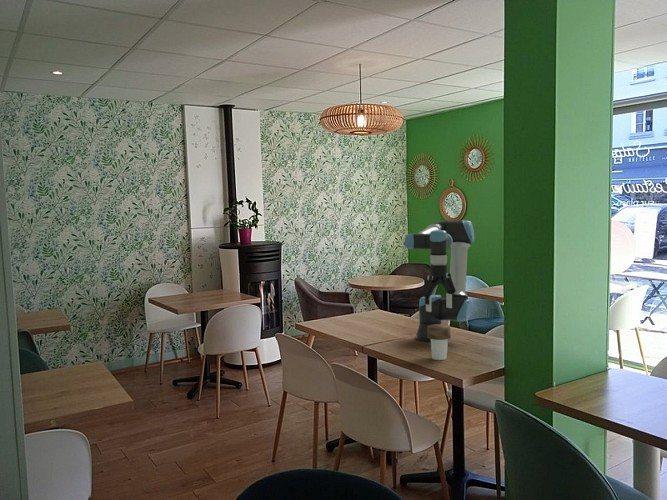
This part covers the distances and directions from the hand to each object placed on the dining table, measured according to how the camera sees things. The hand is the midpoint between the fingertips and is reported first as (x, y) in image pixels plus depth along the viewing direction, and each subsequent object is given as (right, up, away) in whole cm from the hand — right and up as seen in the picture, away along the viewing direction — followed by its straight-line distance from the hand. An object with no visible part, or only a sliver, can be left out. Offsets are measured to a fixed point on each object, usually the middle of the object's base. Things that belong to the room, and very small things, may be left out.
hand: (439, 309), depth 257 cm
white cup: (0, -23, +2) cm, 23 cm away
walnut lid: (0, -13, +1) cm, 13 cm away
